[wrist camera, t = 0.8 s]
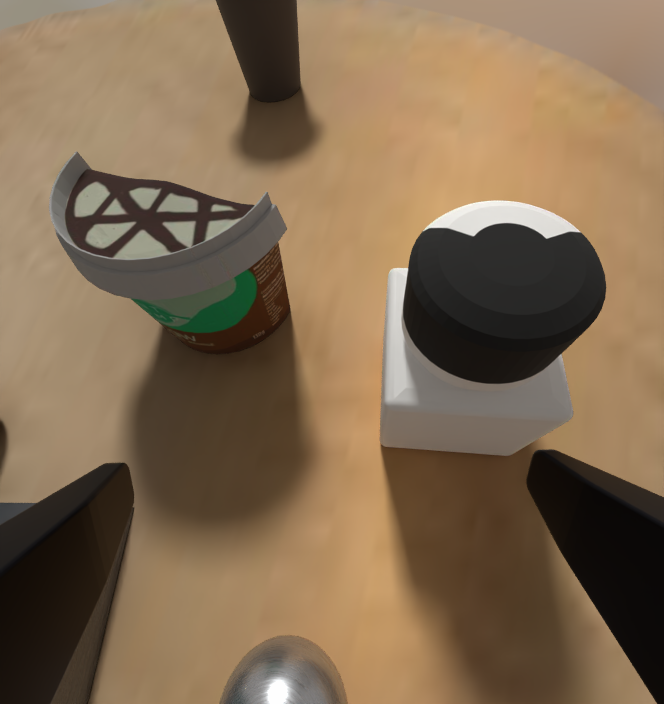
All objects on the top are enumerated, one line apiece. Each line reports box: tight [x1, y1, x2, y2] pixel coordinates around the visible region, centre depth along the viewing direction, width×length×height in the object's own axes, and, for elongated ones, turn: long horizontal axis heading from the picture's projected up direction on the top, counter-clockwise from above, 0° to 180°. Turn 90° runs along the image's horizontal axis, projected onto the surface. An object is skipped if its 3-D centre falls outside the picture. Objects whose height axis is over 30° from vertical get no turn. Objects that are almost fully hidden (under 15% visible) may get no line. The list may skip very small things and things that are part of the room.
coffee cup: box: [216, 0, 300, 102], centre depth 34 cm, size 8×8×10 cm
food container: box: [49, 152, 290, 354], centre depth 21 cm, size 12×6×10 cm, turn 68°
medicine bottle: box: [380, 201, 606, 456], centre depth 17 cm, size 7×7×12 cm
